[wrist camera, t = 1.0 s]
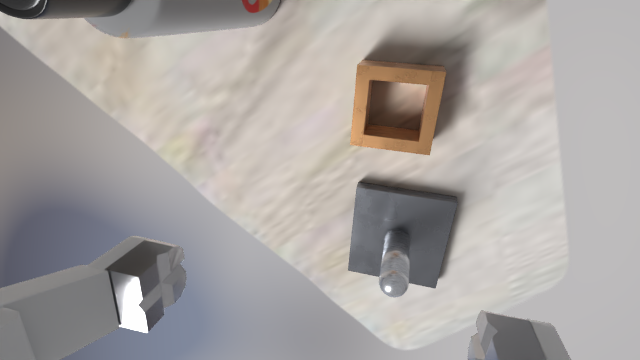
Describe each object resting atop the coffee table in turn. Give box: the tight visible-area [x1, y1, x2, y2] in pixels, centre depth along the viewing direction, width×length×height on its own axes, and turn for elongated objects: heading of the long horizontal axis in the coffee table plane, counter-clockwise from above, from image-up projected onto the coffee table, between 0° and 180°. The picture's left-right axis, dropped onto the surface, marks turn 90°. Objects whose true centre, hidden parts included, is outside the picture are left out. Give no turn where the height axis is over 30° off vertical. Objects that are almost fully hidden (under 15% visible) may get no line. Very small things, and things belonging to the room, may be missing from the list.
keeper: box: [348, 182, 457, 297], centre depth 31 cm, size 10×9×8 cm
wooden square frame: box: [350, 60, 446, 155], centre depth 28 cm, size 6×6×3 cm
